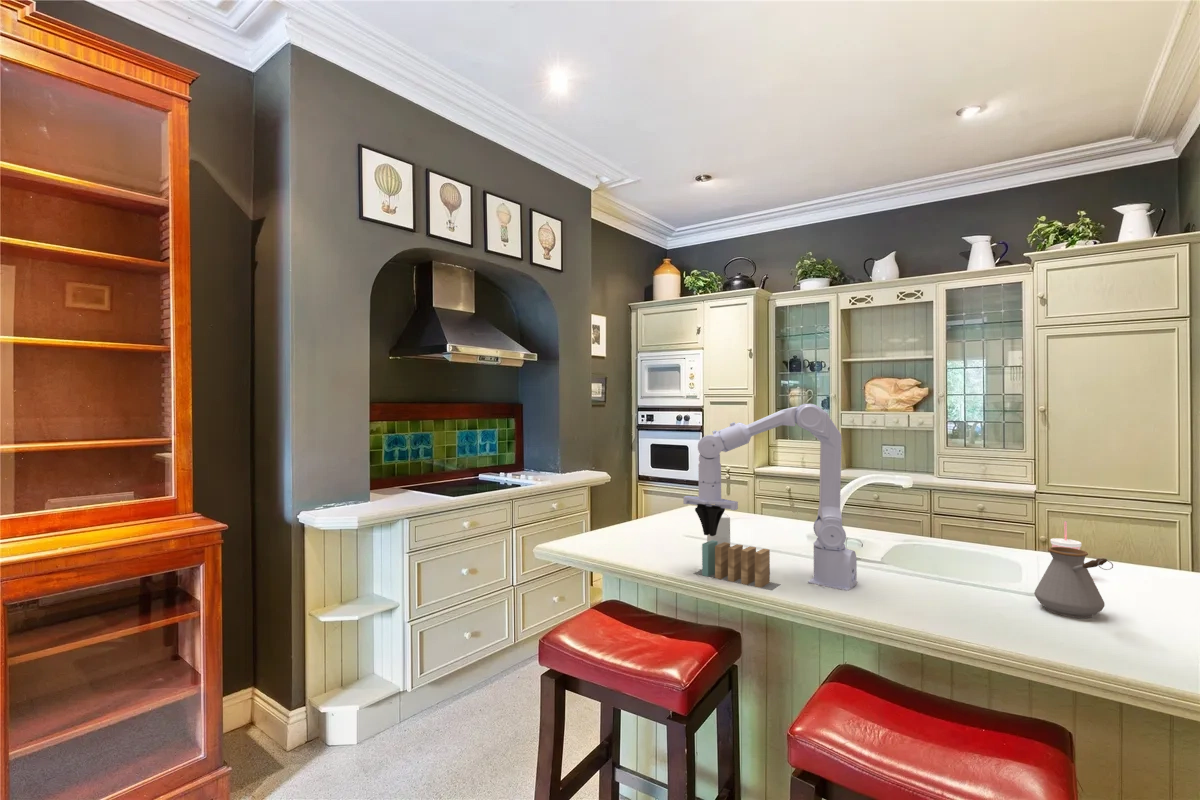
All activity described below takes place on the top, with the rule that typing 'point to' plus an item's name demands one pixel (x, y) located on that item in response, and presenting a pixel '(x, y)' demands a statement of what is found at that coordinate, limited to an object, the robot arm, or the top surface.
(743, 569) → the domino
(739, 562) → the domino
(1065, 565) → the coffee pot
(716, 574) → the domino
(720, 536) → the small box
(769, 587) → the mat
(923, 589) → the top surface
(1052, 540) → the beverage cup
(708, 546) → the teal domino
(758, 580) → the domino
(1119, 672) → the top surface
